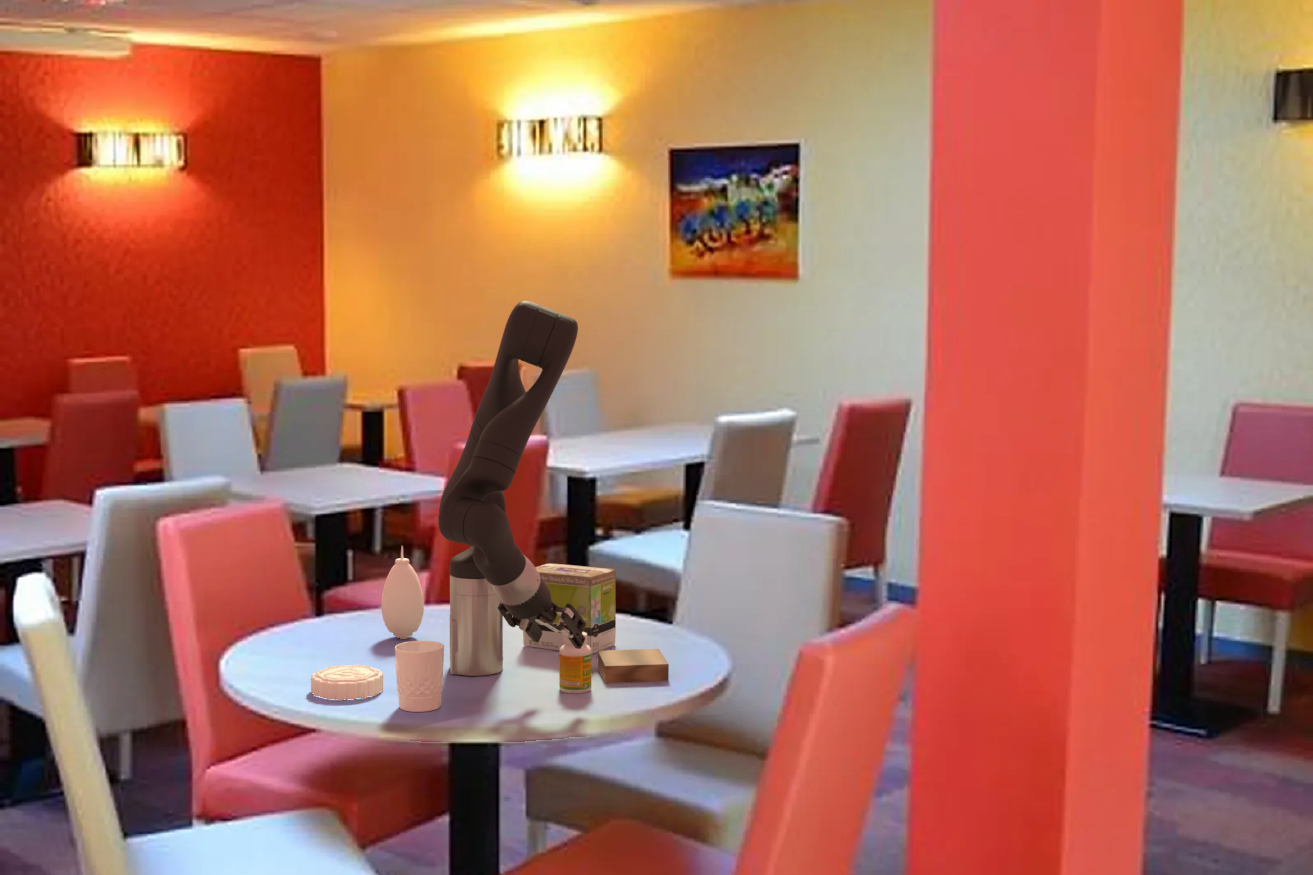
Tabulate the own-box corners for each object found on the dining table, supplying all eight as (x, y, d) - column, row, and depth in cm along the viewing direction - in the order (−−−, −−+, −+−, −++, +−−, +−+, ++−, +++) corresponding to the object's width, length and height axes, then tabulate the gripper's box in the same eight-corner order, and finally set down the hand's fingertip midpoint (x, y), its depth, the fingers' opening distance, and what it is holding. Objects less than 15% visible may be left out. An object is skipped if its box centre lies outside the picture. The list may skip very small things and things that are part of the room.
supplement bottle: (587, 695, 264) (587, 638, 263) (555, 693, 265) (555, 636, 264) (594, 686, 269) (594, 630, 268) (564, 684, 271) (564, 629, 269)
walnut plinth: (605, 683, 272) (605, 666, 271) (597, 667, 282) (597, 650, 282) (668, 681, 273) (668, 664, 273) (658, 665, 284) (658, 648, 284)
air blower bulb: (374, 637, 304) (373, 544, 302) (408, 631, 309) (407, 540, 307) (396, 644, 298) (395, 550, 296) (431, 638, 303) (430, 545, 301)
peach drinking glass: (446, 700, 261) (446, 640, 260) (441, 713, 253) (441, 652, 252) (398, 700, 260) (398, 640, 259) (392, 713, 252) (391, 652, 251)
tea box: (617, 645, 299) (617, 568, 297) (590, 656, 290) (590, 577, 289) (549, 636, 306) (549, 560, 304) (521, 646, 297) (521, 569, 296)
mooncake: (346, 706, 257) (346, 684, 257) (295, 694, 264) (295, 673, 264) (398, 690, 267) (398, 669, 267) (348, 679, 274) (347, 659, 273)
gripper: (564, 570, 250) (604, 627, 261) (492, 561, 257) (534, 617, 268) (545, 609, 246) (586, 665, 257) (472, 598, 253) (515, 654, 264)
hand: (559, 641), depth 262 cm, fingers open, 8 cm apart
